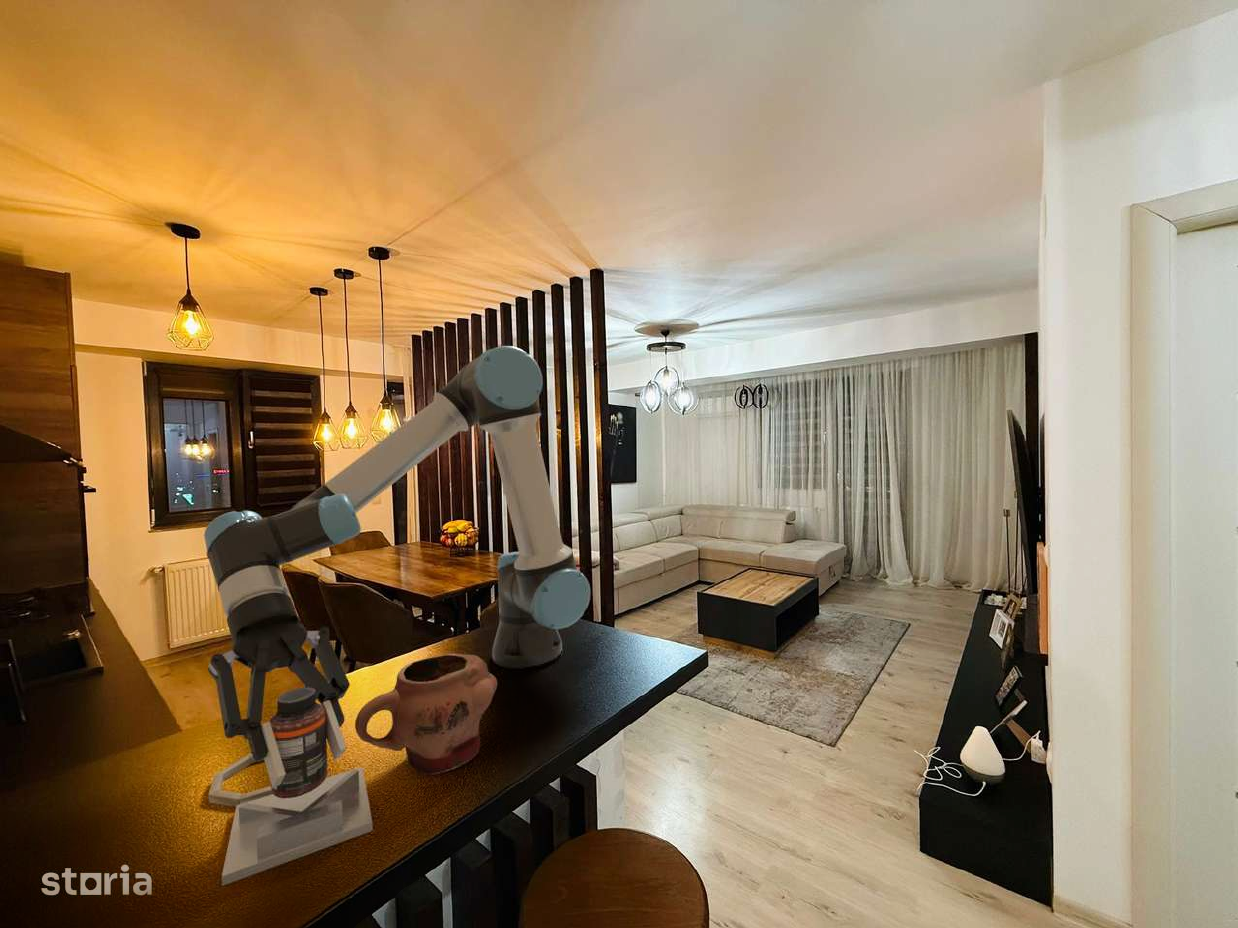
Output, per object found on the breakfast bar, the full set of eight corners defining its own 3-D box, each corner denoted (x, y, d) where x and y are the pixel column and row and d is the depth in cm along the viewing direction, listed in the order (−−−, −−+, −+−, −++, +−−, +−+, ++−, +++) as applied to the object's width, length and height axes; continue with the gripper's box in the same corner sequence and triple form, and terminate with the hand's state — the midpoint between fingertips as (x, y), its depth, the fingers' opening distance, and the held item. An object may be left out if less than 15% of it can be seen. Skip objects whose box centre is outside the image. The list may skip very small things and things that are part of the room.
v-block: (236, 813, 63) (235, 785, 63) (362, 773, 71) (361, 748, 71) (222, 885, 52) (220, 851, 52) (372, 830, 60) (371, 800, 60)
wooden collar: (315, 742, 79) (315, 736, 79) (317, 783, 69) (316, 775, 69) (218, 769, 73) (218, 762, 73) (203, 818, 63) (203, 810, 63)
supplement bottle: (292, 770, 66) (290, 683, 66) (337, 770, 66) (335, 682, 66) (258, 801, 60) (255, 705, 60) (308, 801, 60) (305, 704, 60)
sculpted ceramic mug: (381, 819, 61) (377, 704, 61) (342, 779, 70) (339, 678, 69) (516, 746, 76) (513, 654, 76) (471, 720, 84) (469, 637, 84)
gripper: (325, 606, 80) (379, 745, 69) (165, 642, 65) (205, 825, 55) (339, 577, 76) (398, 718, 66) (174, 607, 61) (218, 795, 51)
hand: (311, 766), depth 60 cm, fingers closed on supplement bottle, 6 cm apart
